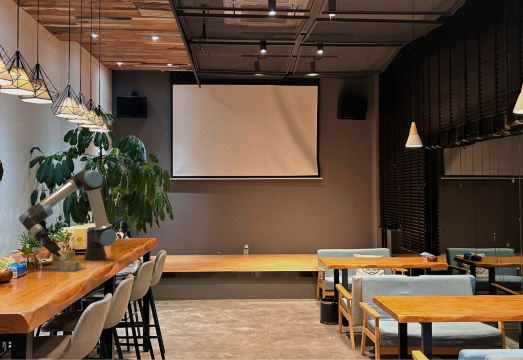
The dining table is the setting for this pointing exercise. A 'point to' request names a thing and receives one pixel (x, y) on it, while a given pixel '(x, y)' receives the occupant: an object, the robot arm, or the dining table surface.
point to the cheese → (67, 253)
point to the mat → (56, 269)
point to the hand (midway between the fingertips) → (64, 259)
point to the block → (70, 265)
